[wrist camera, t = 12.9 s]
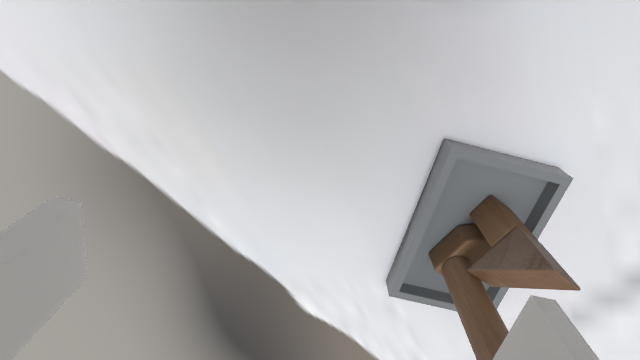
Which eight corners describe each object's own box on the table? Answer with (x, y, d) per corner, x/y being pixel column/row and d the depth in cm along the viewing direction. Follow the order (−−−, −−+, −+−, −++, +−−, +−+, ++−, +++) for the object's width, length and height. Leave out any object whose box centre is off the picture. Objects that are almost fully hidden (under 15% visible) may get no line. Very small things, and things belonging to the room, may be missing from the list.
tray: (444, 138, 43) (451, 147, 40) (558, 167, 44) (573, 178, 41) (386, 280, 51) (389, 296, 48) (482, 302, 52) (490, 318, 49)
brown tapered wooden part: (511, 209, 45) (613, 324, 28) (447, 267, 49) (504, 397, 32) (490, 192, 44) (581, 300, 28) (426, 252, 48) (473, 378, 31)
